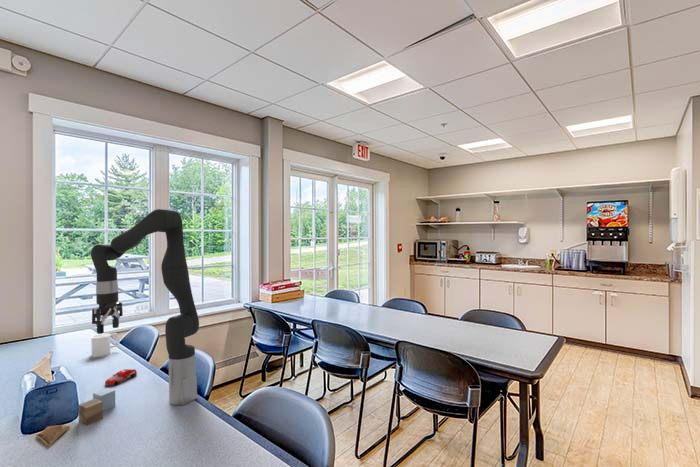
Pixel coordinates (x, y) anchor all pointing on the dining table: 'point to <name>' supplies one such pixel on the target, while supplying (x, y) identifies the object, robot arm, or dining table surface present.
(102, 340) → the cup
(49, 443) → the shard
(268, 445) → the dining table surface
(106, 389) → the slate block
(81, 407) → the walnut block
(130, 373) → the race car
